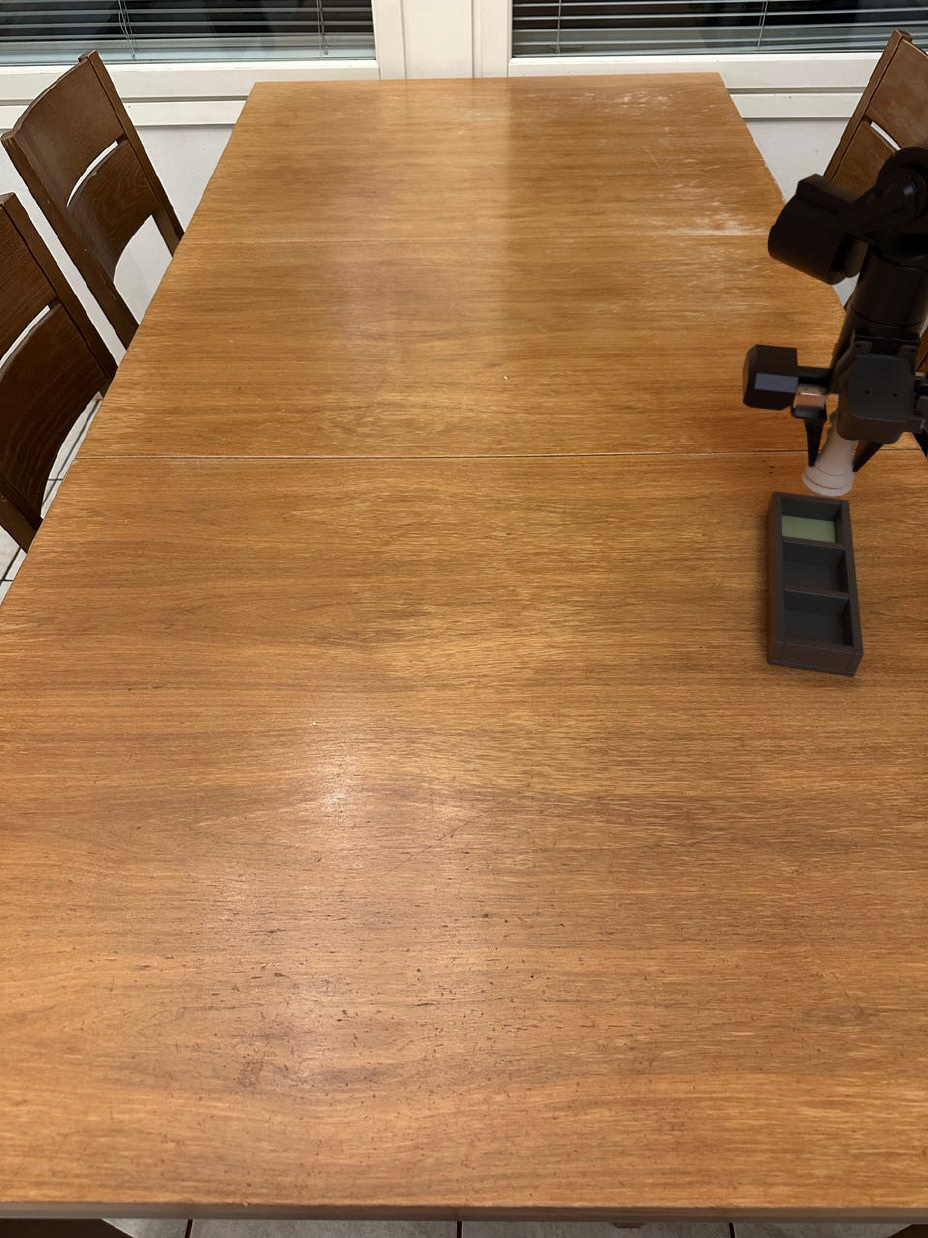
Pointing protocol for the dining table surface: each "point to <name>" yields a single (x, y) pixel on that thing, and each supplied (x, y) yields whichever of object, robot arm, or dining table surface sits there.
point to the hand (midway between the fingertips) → (831, 466)
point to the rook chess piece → (832, 465)
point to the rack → (812, 585)
